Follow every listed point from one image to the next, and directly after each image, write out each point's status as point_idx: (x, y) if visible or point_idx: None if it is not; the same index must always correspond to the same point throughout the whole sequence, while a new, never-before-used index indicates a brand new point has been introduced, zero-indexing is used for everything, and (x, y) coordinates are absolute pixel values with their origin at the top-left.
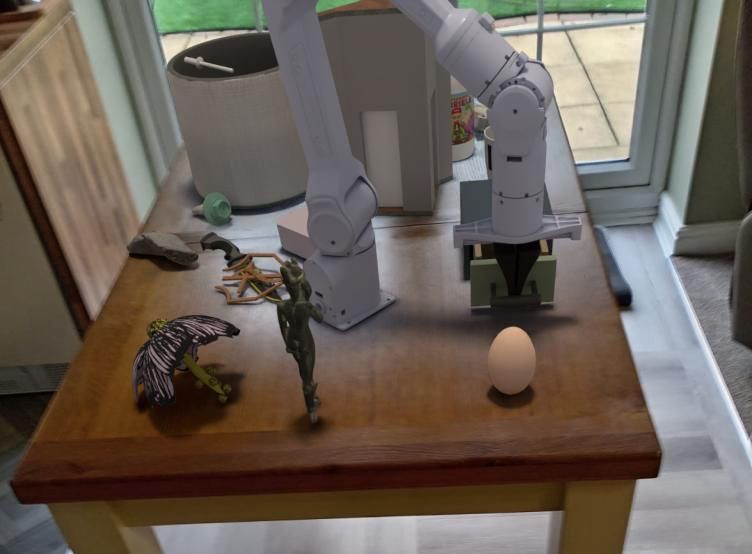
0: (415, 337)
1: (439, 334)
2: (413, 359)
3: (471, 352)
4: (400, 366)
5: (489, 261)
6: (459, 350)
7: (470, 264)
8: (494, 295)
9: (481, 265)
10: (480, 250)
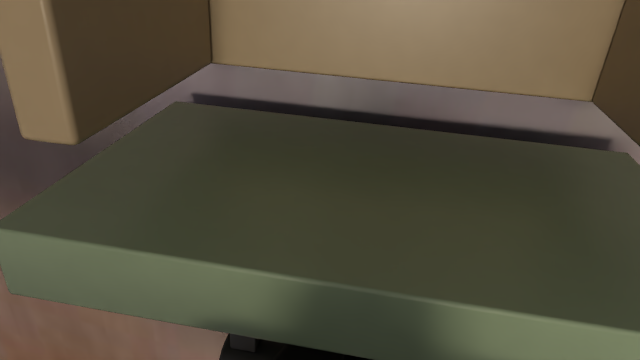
0: None
1: None
2: (34, 336)
3: (203, 354)
4: (7, 353)
5: (148, 287)
6: (165, 336)
7: (5, 280)
8: (244, 341)
9: (93, 307)
10: (44, 33)
